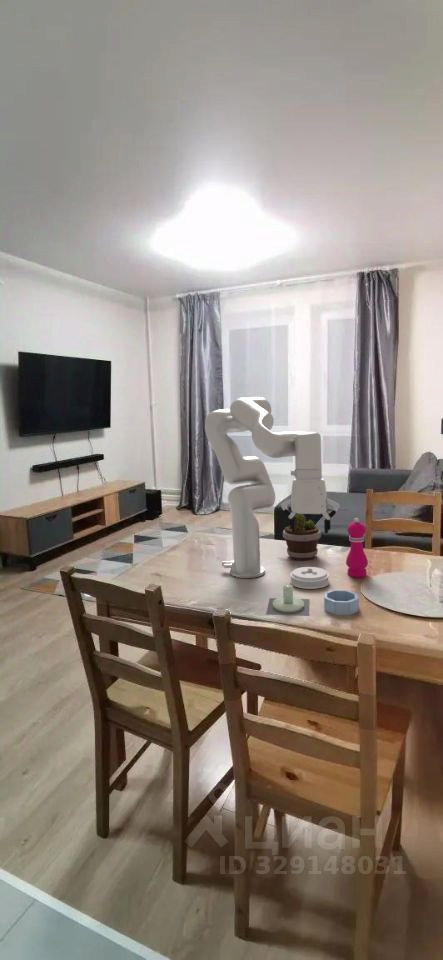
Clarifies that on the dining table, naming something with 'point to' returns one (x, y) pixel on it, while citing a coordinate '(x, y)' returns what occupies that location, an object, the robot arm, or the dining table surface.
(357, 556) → the pepper mill
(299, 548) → the flowerpot
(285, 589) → the cover
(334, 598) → the bowl
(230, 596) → the dining table surface
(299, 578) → the lid
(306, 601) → the mat
